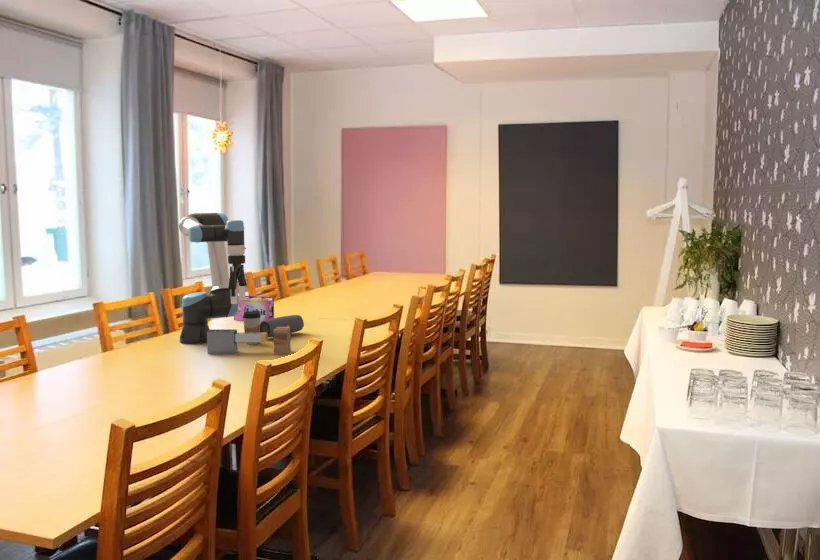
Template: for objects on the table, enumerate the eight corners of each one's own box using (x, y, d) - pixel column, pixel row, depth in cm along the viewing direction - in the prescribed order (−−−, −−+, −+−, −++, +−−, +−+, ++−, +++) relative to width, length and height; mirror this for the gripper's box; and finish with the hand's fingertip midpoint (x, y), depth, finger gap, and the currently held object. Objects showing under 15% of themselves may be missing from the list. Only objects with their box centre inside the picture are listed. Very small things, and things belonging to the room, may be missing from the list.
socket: (277, 350, 330) (276, 326, 329) (290, 350, 330) (290, 326, 329) (274, 354, 322) (273, 330, 321) (287, 354, 322) (286, 330, 321)
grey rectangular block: (211, 351, 329) (210, 329, 328) (237, 351, 329) (236, 329, 328) (207, 354, 323) (206, 332, 322) (234, 354, 323) (233, 332, 322)
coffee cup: (257, 345, 341) (256, 314, 339) (240, 344, 343) (239, 313, 341) (264, 342, 349) (263, 311, 348) (248, 341, 351) (247, 310, 349)
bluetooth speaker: (271, 341, 351) (270, 321, 350) (258, 339, 357) (257, 319, 356) (305, 334, 369) (304, 314, 368) (292, 332, 375) (291, 312, 374)
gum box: (277, 321, 407) (276, 297, 405) (269, 323, 399) (268, 299, 398) (241, 318, 416) (240, 295, 414) (233, 320, 409) (232, 297, 407)
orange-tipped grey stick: (212, 340, 328) (212, 332, 327) (267, 340, 327) (267, 332, 327) (210, 342, 324) (209, 334, 324) (265, 342, 324) (265, 333, 323)
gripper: (237, 256, 311) (239, 305, 313) (251, 253, 336) (253, 298, 337) (219, 256, 311) (222, 305, 313) (235, 253, 336) (237, 299, 338)
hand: (238, 302), depth 325 cm, fingers open, 13 cm apart
